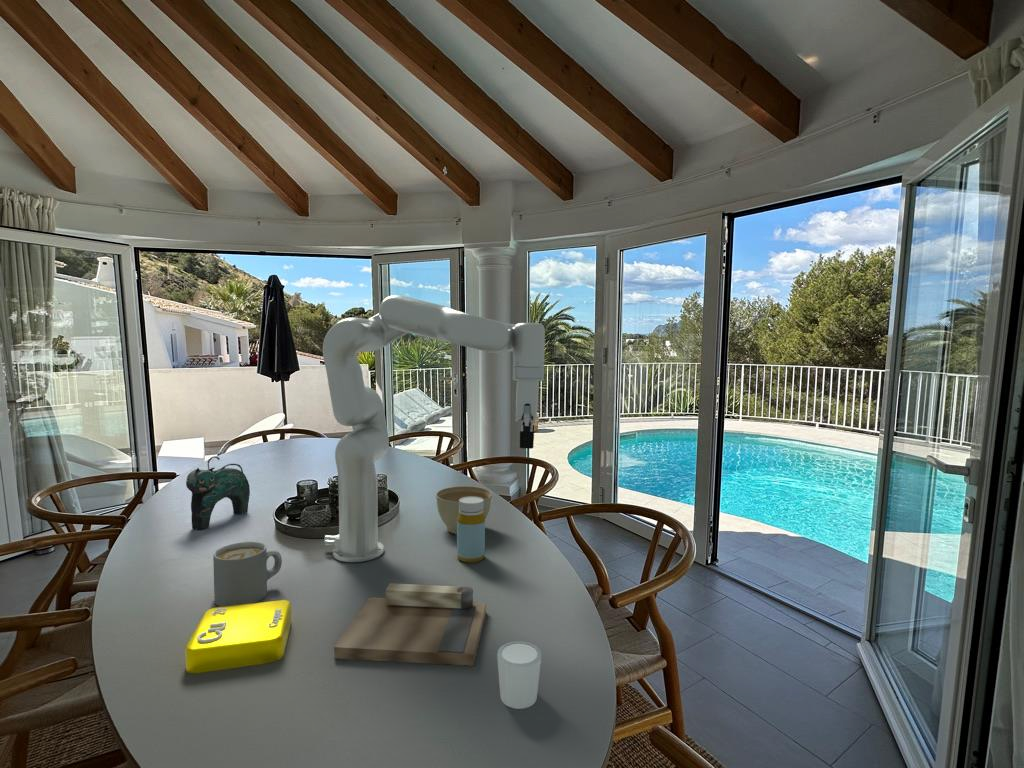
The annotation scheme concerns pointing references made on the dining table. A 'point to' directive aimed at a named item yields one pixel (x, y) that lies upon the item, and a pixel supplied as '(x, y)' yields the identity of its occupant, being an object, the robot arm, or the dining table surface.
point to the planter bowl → (450, 503)
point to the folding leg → (429, 596)
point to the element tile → (239, 636)
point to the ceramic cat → (216, 492)
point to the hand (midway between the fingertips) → (527, 444)
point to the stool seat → (413, 634)
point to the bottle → (471, 529)
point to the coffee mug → (242, 573)
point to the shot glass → (519, 673)
